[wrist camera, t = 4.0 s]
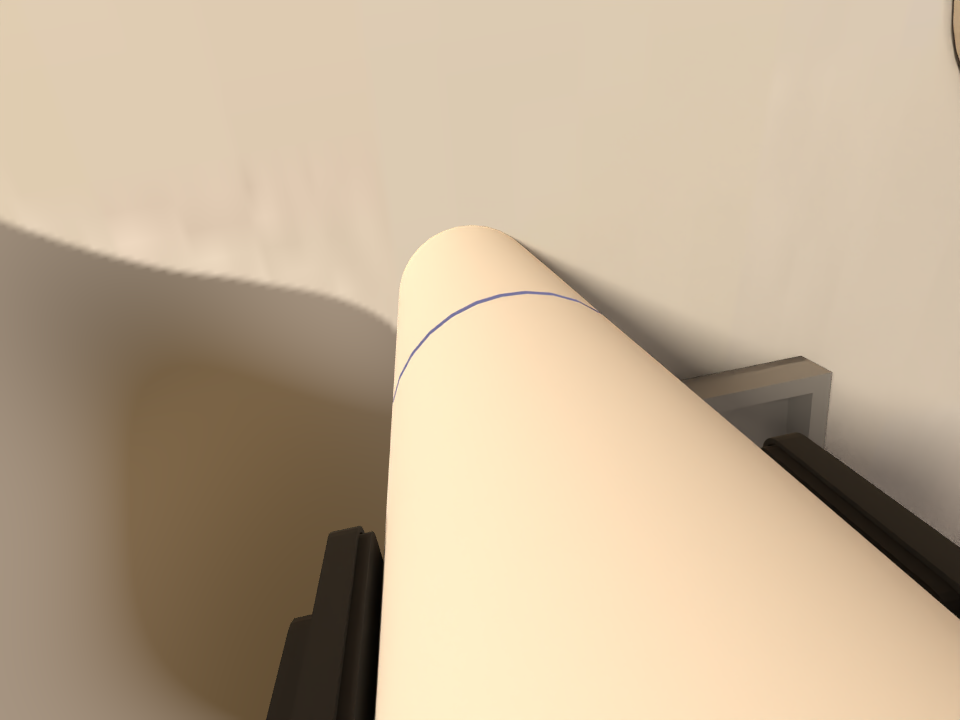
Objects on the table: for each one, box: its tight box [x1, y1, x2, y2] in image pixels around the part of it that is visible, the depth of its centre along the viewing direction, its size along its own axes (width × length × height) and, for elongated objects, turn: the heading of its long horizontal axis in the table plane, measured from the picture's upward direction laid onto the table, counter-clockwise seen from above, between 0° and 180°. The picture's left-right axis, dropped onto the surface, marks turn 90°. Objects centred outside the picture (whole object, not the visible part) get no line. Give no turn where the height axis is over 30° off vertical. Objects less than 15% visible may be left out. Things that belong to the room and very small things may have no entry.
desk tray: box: [681, 356, 832, 449], centre depth 32 cm, size 16×16×2 cm
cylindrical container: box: [374, 225, 960, 720], centre depth 15 cm, size 7×7×25 cm
